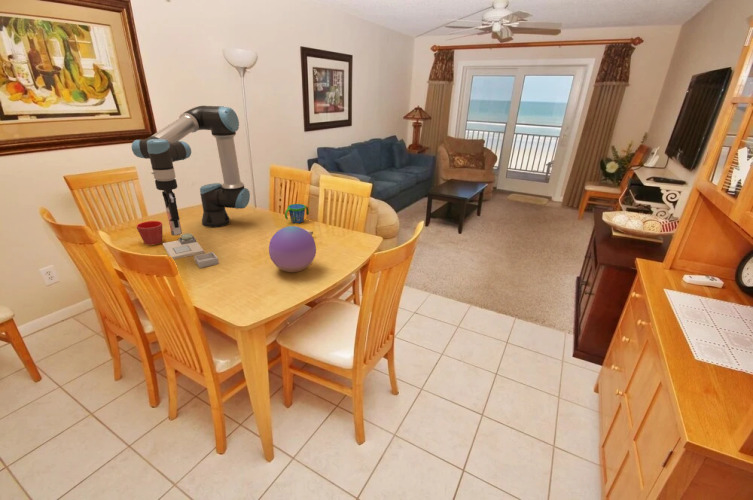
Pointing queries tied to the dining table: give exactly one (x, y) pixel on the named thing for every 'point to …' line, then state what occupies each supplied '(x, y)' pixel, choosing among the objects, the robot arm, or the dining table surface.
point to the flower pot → (150, 232)
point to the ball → (292, 249)
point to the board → (183, 248)
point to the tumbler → (170, 221)
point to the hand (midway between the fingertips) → (176, 232)
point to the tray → (206, 260)
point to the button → (186, 236)
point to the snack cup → (296, 212)
